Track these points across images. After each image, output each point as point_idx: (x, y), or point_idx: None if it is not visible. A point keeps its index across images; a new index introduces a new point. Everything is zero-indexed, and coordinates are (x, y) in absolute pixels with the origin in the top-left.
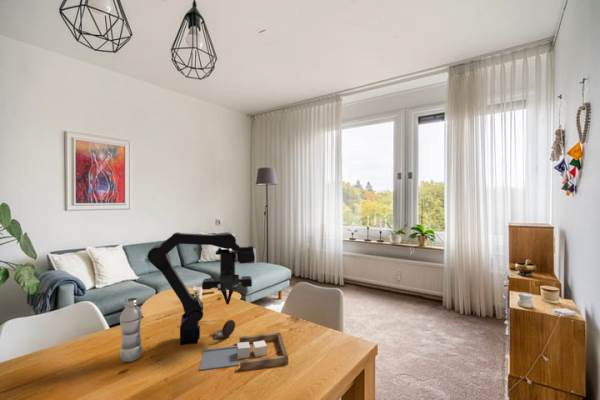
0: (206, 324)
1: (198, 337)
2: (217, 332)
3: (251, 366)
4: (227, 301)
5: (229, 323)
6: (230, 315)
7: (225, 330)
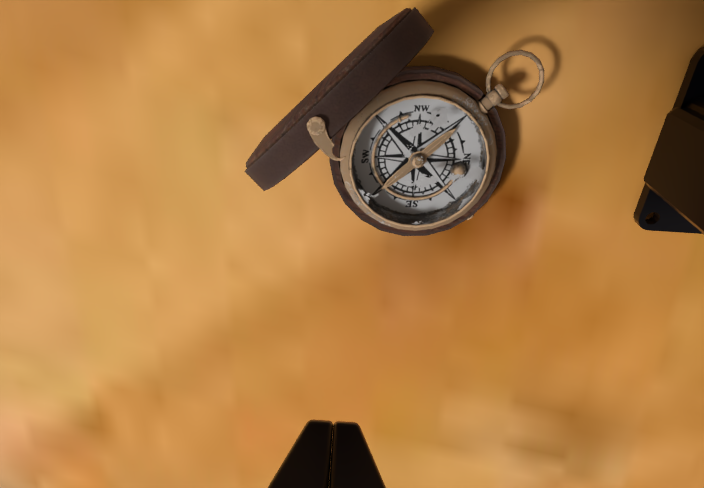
0: (526, 398)
1: (691, 112)
2: (457, 204)
3: None
4: (332, 480)
5: (320, 84)
6: None
7: (386, 22)
